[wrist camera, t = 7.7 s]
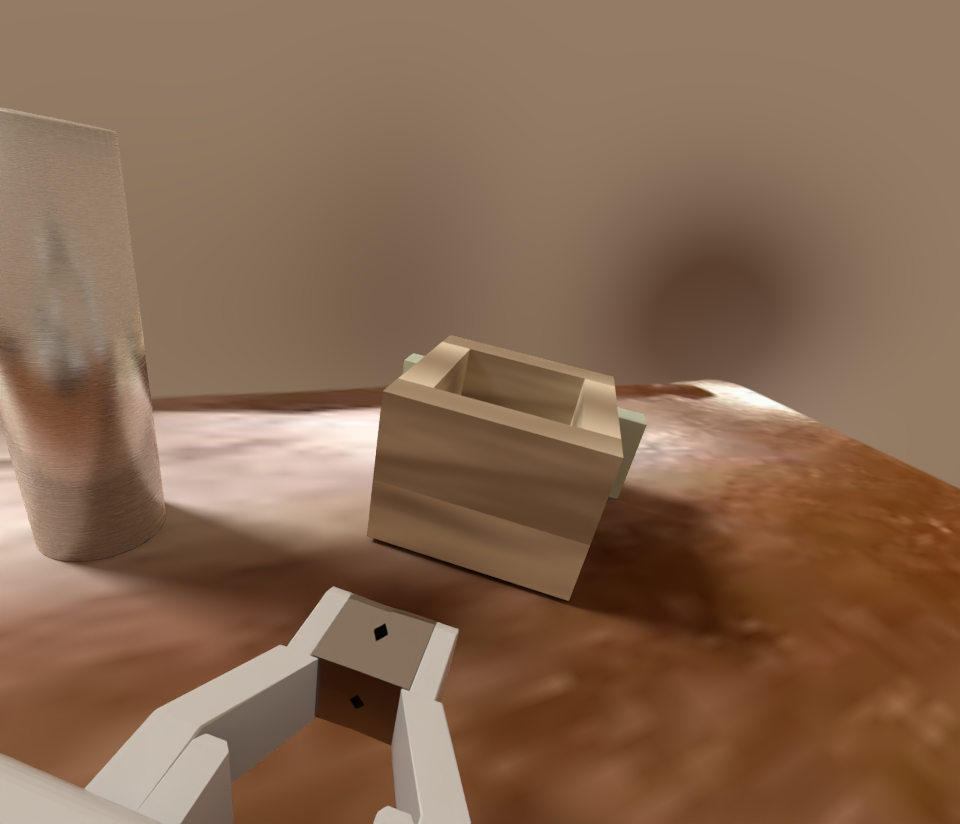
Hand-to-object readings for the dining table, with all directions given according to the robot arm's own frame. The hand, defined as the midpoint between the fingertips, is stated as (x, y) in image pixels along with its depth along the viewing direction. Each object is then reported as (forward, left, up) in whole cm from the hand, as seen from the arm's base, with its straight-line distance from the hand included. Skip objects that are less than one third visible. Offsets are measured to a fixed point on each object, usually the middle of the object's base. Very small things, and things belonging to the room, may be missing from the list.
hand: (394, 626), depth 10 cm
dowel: (+4, -14, -6) cm, 15 cm away
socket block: (-11, -6, -5) cm, 14 cm away
